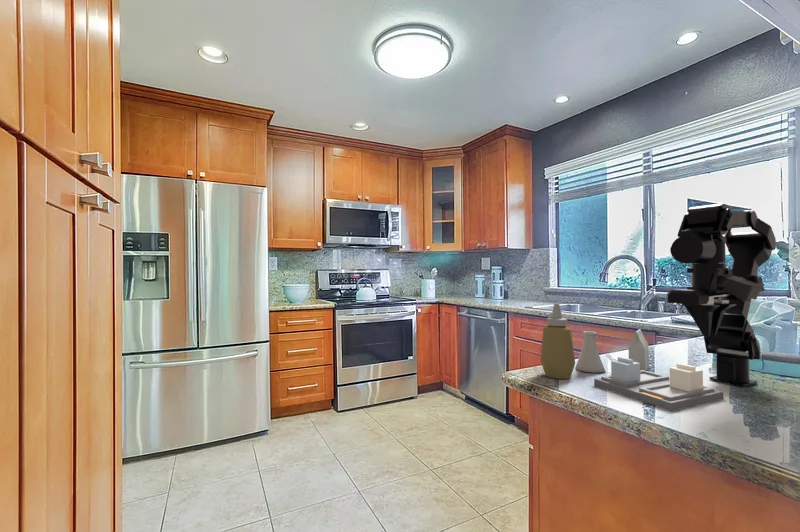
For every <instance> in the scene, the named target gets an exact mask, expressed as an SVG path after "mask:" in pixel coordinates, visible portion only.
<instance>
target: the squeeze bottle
mask: <svg viewBox="0 0 800 532" xmlns="http://www.w3.org/2000/svg"><path fill="white" fill-rule="evenodd" d="M546 324H547V326H544V327H543V328H542V329H543V330H542V339H541V351H540V363H541V366H542V369H543V372H544V374H545V376H547V377H549V378H551V379H559V380H564V379H566V380H567V379H570V378H571V377H572V374H573V371H574V368H575V367H576V359H575V358H576V357H575V349H574V340H573V333H572V328H569V326H568V319H567V318H565V317H563V314H562V310H561V305H560V303H554V304H553V308H552V312H551V316H550V317H547V318H546Z"/></svg>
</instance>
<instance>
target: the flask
mask: <svg viewBox="0 0 800 532" xmlns="http://www.w3.org/2000/svg"><path fill="white" fill-rule="evenodd" d="M582 334H583V335H584V337H583V338H584V339H583V343H582V348H581V352H580V353H579V357H578V359H577V362H576V363H575V370H578V371H581V372H583V373H593V374H594V373H595V374H598V373H606V368H605V366H604V364H603V362H602V359H601V356H600V353H599V351H598V348H597V342H596V336H597V332H596V331H592V330H591V331H590V330H587V331H586V330H584V331H583V332H582Z"/></svg>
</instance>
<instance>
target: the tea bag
mask: <svg viewBox="0 0 800 532" xmlns="http://www.w3.org/2000/svg"><path fill="white" fill-rule="evenodd" d="M649 347H650V346H649V343H648V341H647V339H646V338H645V336H644V334H643V332H642V329H640V328H639V329H637V330H636V331H635V333H634V336H633V339H632V340H631V342H630V344H629V345H628V359H631V360H633V362H637V363H640V370H645V371H646V370H647V371H648V369H649V368H650V357H649V353H650V351H649V349H650V348H649Z"/></svg>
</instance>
